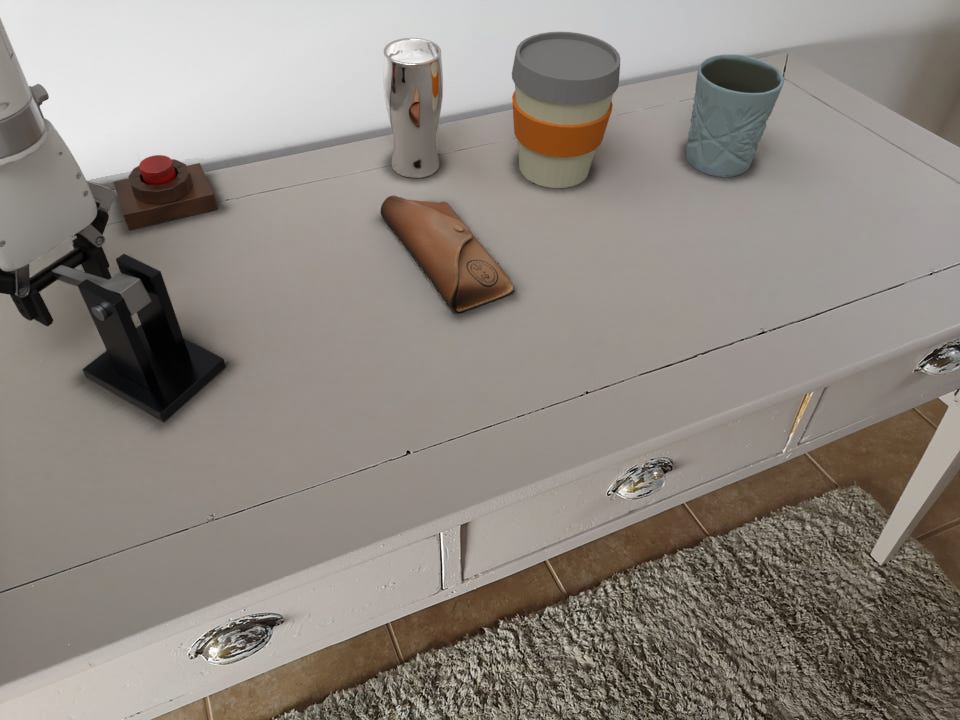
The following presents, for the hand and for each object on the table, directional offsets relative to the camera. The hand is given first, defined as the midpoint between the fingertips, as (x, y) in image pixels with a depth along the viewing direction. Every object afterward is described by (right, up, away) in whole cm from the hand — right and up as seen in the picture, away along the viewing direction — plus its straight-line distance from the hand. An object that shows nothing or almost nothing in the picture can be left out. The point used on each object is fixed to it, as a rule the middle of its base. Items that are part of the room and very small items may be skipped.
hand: (70, 296), depth 73 cm
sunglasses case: (+35, +6, +14) cm, 38 cm away
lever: (+4, 0, -4) cm, 6 cm away
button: (+2, +15, +16) cm, 22 cm away
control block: (+2, +13, +19) cm, 23 cm away
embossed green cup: (+70, +20, +30) cm, 78 cm away
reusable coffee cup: (+48, +19, +27) cm, 58 cm away
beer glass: (+30, +19, +26) cm, 44 cm away
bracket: (+8, -7, +1) cm, 11 cm away
